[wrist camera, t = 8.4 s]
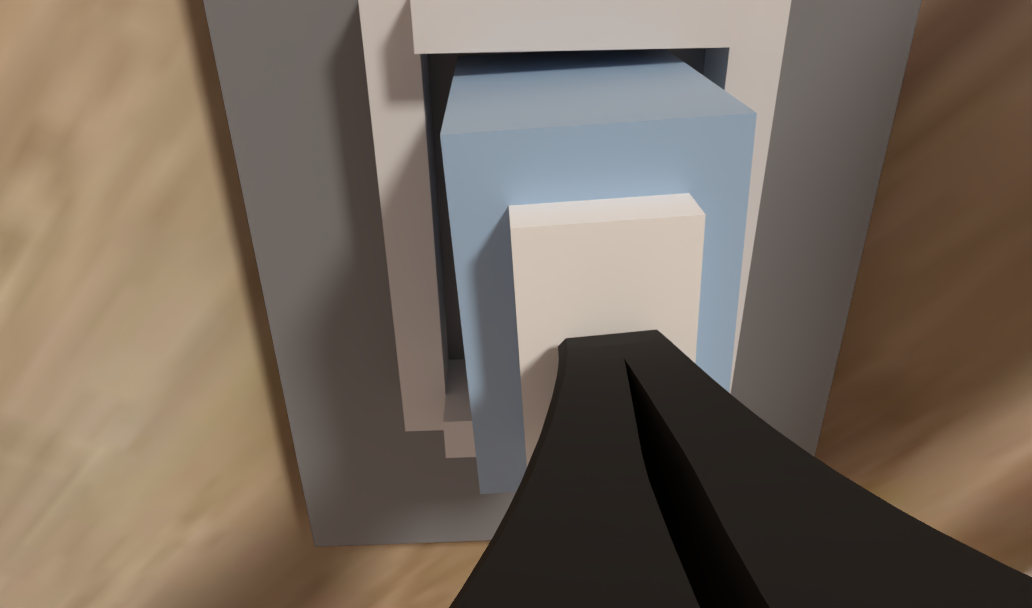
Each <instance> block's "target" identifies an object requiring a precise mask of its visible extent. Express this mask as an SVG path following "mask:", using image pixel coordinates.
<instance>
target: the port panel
mask: <svg viewBox="0 0 1032 608" xmlns="http://www.w3.org/2000/svg"><path fill="white" fill-rule="evenodd" d="M921 1H922V0H203V3H204V7H205V12H206V17H207V22H208V27H209V32H210V37H211V42H212V47H213V51H214V56H215V61H216V66H217V71H218V76H219V81H220V86H221V91H222V95H223V100H224V105H225V110H226V115H227V120H228V125H229V130H230V135H231V139H232V144H233V149H234V154H235V159H236V164H237V169H238V174H239V179H240V183H241V188H242V193H243V198H244V203H245V208H246V213H247V218H248V223H249V227H250V232H251V237H252V242H253V247H254V252H255V257H256V262H257V267H258V271H259V276H260V281H261V286H262V291H263V296H264V301H265V306H266V311H267V315H268V320H269V325H270V330H271V335H272V340H273V345H274V350H275V355H276V360H277V364H278V369H279V374H280V379H281V384H282V389H283V394H284V399H285V404H286V408H287V413H288V418H289V423H290V428H291V433H292V438H293V443H294V448H295V452H296V457H297V462H298V467H299V472H300V477H301V482H302V487H303V492H304V496H305V501H306V506H307V511H308V516H309V521H310V526H311V531H312V536H313V540H314V545H315V547H325V546H351V545H378V544H405V543H432V542H459V541H486V540H491V539H492V538H493V536H494V534H495V532H496V530H497V528H498V527H499V525H500V523H501V521H502V519H503V517H504V515H505V514H506V512H507V510H508V508H509V506H510V504H511V502H512V500H513V497H514V495H515V493H516V492H507V493H493V494H480V488H479V479H478V470H477V461H476V452H475V443H474V434H473V425H472V416H471V407H470V398H469V389H468V380H467V371H466V362H465V353H464V345H463V336H462V327H461V318H460V309H459V300H458V291H457V282H456V273H455V264H454V255H453V246H452V237H451V228H450V219H449V210H448V202H447V193H446V184H445V175H444V166H443V157H442V148H441V139H440V133H441V129H442V124H443V120H444V115H445V111H446V107H447V102H448V98H449V93H450V89H451V85H452V80H453V76H454V71H455V67H456V63H457V58H458V57H465V56H479V55H494V54H508V53H522V52H537V51H577V50H626V49H666V50H667V51H669V52H670V53H672V54H673V55H675V56H676V57H677V58H679V59H680V60H682V61H683V62H685V63H686V64H688V65H689V66H690V67H692V68H693V69H695V70H696V71H698V72H699V73H700V74H702V75H703V76H705V77H706V78H708V79H709V80H710V81H712V82H713V83H715V84H716V85H718V86H719V87H720V88H722V89H723V90H725V91H726V92H728V93H729V94H731V95H732V96H733V97H735V98H736V99H738V100H739V101H741V102H742V103H743V104H745V105H746V106H748V107H749V108H751V109H752V110H753V111H755V112H756V113H757V117H756V127H755V137H754V148H753V158H752V168H751V178H750V188H749V198H748V209H747V219H746V229H745V239H744V249H743V259H742V270H741V280H740V290H739V300H738V310H737V320H736V331H735V341H734V351H733V361H732V371H731V381H730V392H729V393H730V394H731V395H733V396H734V397H735V398H736V399H737V400H739V401H740V402H741V403H742V404H744V405H745V406H746V407H747V408H749V409H750V410H751V411H752V412H754V413H755V414H756V415H757V416H759V417H760V418H761V419H763V420H764V421H765V422H766V423H768V424H769V425H770V426H772V427H773V428H774V429H776V430H777V431H779V432H780V433H781V434H783V435H784V436H786V437H787V438H788V439H790V440H791V441H793V442H794V443H795V444H797V445H798V446H800V447H801V448H802V449H804V450H805V451H807V452H808V453H810V454H811V455H812V456H814V457H815V453H816V449H817V444H818V440H819V436H820V432H821V427H822V423H823V419H824V415H825V410H826V406H827V402H828V398H829V393H830V389H831V385H832V381H833V376H834V372H835V368H836V363H837V359H838V355H839V351H840V346H841V342H842V338H843V334H844V329H845V325H846V321H847V317H848V312H849V308H850V304H851V299H852V295H853V291H854V287H855V282H856V278H857V274H858V270H859V265H860V261H861V257H862V253H863V248H864V244H865V240H866V236H867V231H868V227H869V223H870V218H871V214H872V210H873V206H874V201H875V197H876V193H877V189H878V184H879V180H880V176H881V172H882V167H883V163H884V159H885V155H886V150H887V146H888V142H889V137H890V133H891V129H892V125H893V120H894V116H895V112H896V108H897V103H898V99H899V95H900V91H901V86H902V82H903V78H904V74H905V69H906V65H907V61H908V56H909V52H910V48H911V44H912V39H913V35H914V31H915V27H916V22H917V18H918V14H919V10H920V5H921Z"/></svg>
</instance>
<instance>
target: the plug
mask: <svg viewBox="0 0 1032 608" xmlns="http://www.w3.org/2000/svg"><path fill="white" fill-rule="evenodd" d="M756 117H757V113H756V112H755V111H753V110H752V109H751V108H749V107H748V106H746V105H745V104H743V103H742V102H741V101H739V100H738V99H736V98H735V97H733V96H732V95H731V94H729V93H728V92H726V91H725V90H723V89H722V88H720V87H719V86H718V85H716V84H715V83H713V82H712V81H710V80H709V79H708V78H706V77H705V76H703V75H702V74H700V73H699V72H698V71H696V70H695V69H693V68H692V67H690V66H689V65H688V64H686V63H685V62H683V61H682V60H680V59H679V58H677V57H676V56H675V55H673V54H672V53H670V52H669V51H667V50H666V49H626V50H577V51H537V52H522V53H508V54H494V55H479V56H465V57H458V58H457V63H456V67H455V71H454V76H453V80H452V85H451V89H450V93H449V98H448V102H447V107H446V111H445V115H444V120H443V124H442V129H441V133H440V139H441V148H442V157H443V166H444V175H445V184H446V193H447V202H448V210H449V219H450V228H451V237H452V246H453V255H454V264H455V273H456V282H457V291H458V300H459V309H460V318H461V327H462V336H463V345H464V353H465V362H466V371H467V380H468V389H469V398H470V407H471V416H472V425H473V434H474V443H475V452H476V461H477V470H478V479H479V488H480V494H493V493H507V492H516V491H517V489H518V487H519V485H520V483H521V480H522V478H523V476H524V473H525V471H526V468H527V466H528V464H529V461H530V459H531V456H532V454H533V451H534V449H535V447H536V444H537V442H538V439H539V436H540V434H541V431H542V428H543V424H544V421H545V418H546V415H547V411H548V408H549V405H550V402H551V399H552V395H553V391H554V386H555V382H556V377H557V371H558V361H559V357H558V346H559V345H560V344H561V343H562V342H563V341H564V340H565V338H573V337H584V336H594V335H604V334H615V333H625V332H636V331H646V330H656V329H657V330H658V331H659V332H661V333H662V334H663V335H664V336H665V337H666V338H668V339H669V340H670V341H671V342H672V343H673V344H674V345H675V346H677V347H678V348H679V349H680V350H681V351H682V352H683V353H684V354H685V355H687V356H688V357H689V358H690V359H691V360H692V361H693V362H694V363H695V364H697V365H698V366H699V367H700V368H701V369H702V370H703V371H704V372H706V373H707V374H708V375H709V376H710V377H711V378H712V379H714V380H715V381H716V382H717V383H718V384H719V385H721V386H722V387H723V388H724V389H725V390H726V391H728V392H730V381H731V371H732V361H733V351H734V341H735V331H736V320H737V310H738V300H739V290H740V280H741V270H742V259H743V249H744V239H745V229H746V219H747V209H748V198H749V188H750V178H751V168H752V158H753V148H754V137H755V127H756Z"/></svg>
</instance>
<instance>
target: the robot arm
mask: <svg viewBox="0 0 1032 608" xmlns="http://www.w3.org/2000/svg"><path fill="white" fill-rule="evenodd" d="M558 357H559V361H558V371H557V377H556V382H555V386H554V391H553V395H552V399H551V402H550V405H549V408H548V411H547V415H546V418H545V421H544V424H543V428H542V431H541V434H540V436H539V439H538V442H537V444H536V447H535V449H534V451H533V454H532V456H531V459H530V461H529V464H528V466H527V468H526V471H525V473H524V476H523V478H522V480H521V483H520V485H519V487H518V489H517V491H516V493H515V495H514V497H513V500H512V502H511V504H510V506H509V508H508V510H507V512H506V514H505V515H504V517H503V519H502V521H501V523H500V525H499V527H498V528H497V530H496V532H495V534H494V536H493V538H492V539H491V541H490V543H489V545H488V546H487V548H486V550H485V551H484V553H483V555H482V556H481V558H480V560H479V561H478V563H477V564H476V566H475V568H474V569H473V571H472V573H471V574H470V576H469V577H468V579H467V581H466V582H465V584H464V586H463V587H462V589H461V590H460V592H459V593H458V595H457V596H456V598H455V599H454V601H453V602H452V604H451V605H450V607H449V608H1032V577H1030V576H1028V575H1026V574H1024V573H1022V572H1019V571H1017V570H1015V569H1013V568H1011V567H1009V566H1007V565H1005V564H1003V563H1001V562H999V561H997V560H995V559H993V558H991V557H989V556H987V555H985V554H983V553H981V552H979V551H977V550H975V549H973V548H971V547H969V546H967V545H965V544H963V543H961V542H959V541H957V540H955V539H953V538H952V537H950V536H948V535H946V534H944V533H942V532H940V531H938V530H936V529H934V528H932V527H930V526H928V525H927V524H925V523H923V522H921V521H919V520H918V519H916V518H914V517H912V516H910V515H908V514H907V513H905V512H903V511H901V510H899V509H898V508H896V507H894V506H893V505H891V504H889V503H888V502H886V501H884V500H883V499H881V498H879V497H878V496H876V495H874V494H873V493H871V492H869V491H868V490H866V489H864V488H863V487H861V486H859V485H858V484H856V483H854V482H853V481H851V480H849V479H848V478H846V477H844V476H843V475H841V474H840V473H838V472H837V471H835V470H833V469H832V468H830V467H829V466H827V465H826V464H824V463H823V462H821V461H820V460H818V459H817V458H815V457H814V456H812V455H811V454H810V453H808V452H807V451H805V450H804V449H802V448H801V447H800V446H798V445H797V444H795V443H794V442H793V441H791V440H790V439H788V438H787V437H786V436H784V435H783V434H781V433H780V432H779V431H777V430H776V429H774V428H773V427H772V426H770V425H769V424H768V423H766V422H765V421H764V420H763V419H761V418H760V417H759V416H757V415H756V414H755V413H754V412H752V411H751V410H750V409H749V408H747V407H746V406H745V405H744V404H742V403H741V402H740V401H739V400H737V399H736V398H735V397H734V396H733V395H731V394H730V393H729V392H728V391H726V390H725V389H724V388H723V387H722V386H721V385H719V384H718V383H717V382H716V381H715V380H714V379H712V378H711V377H710V376H709V375H708V374H707V373H706V372H704V371H703V370H702V369H701V368H700V367H699V366H698V365H697V364H695V363H694V362H693V361H692V360H691V359H690V358H689V357H688V356H687V355H685V354H684V353H683V352H682V351H681V350H680V349H679V348H678V347H677V346H675V345H674V344H673V343H672V342H671V341H670V340H669V339H668V338H666V337H665V336H664V335H663V334H662V333H661V332H659V331H658V330H657V329H656V330H646V331H636V332H625V333H615V334H604V335H594V336H584V337H573V338H565V340H564V341H563V342H562V343H561V344H560V345H559V346H558Z"/></svg>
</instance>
